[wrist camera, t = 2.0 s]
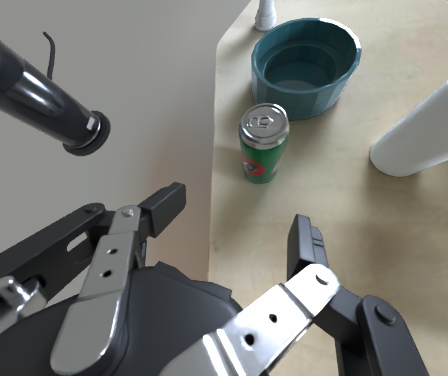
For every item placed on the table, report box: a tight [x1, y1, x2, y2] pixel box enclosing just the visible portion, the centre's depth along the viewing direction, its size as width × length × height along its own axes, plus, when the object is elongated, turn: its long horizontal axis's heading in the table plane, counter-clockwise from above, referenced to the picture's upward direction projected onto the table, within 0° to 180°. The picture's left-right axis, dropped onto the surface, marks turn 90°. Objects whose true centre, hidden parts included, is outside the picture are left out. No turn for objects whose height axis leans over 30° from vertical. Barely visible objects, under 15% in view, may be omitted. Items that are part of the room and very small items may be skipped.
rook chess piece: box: [255, 0, 276, 31], centre depth 33 cm, size 4×4×8 cm
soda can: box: [239, 103, 290, 184], centre depth 22 cm, size 5×5×12 cm
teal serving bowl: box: [251, 18, 361, 120], centre depth 28 cm, size 15×15×6 cm
